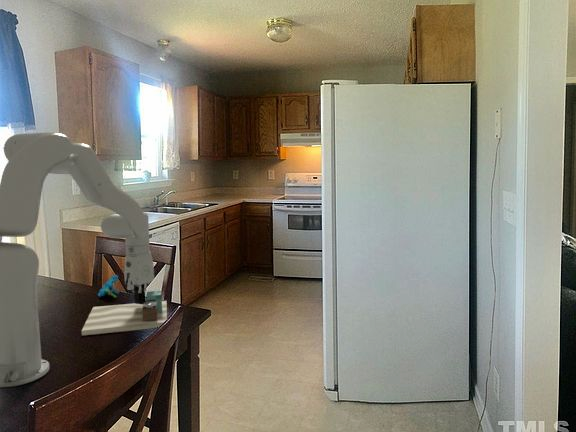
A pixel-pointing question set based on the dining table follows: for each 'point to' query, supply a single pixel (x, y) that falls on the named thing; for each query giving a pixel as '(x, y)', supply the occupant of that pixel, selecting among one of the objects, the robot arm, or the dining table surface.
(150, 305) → the disc
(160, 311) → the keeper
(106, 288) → the gear
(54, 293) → the dining table surface
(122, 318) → the board
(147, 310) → the link
